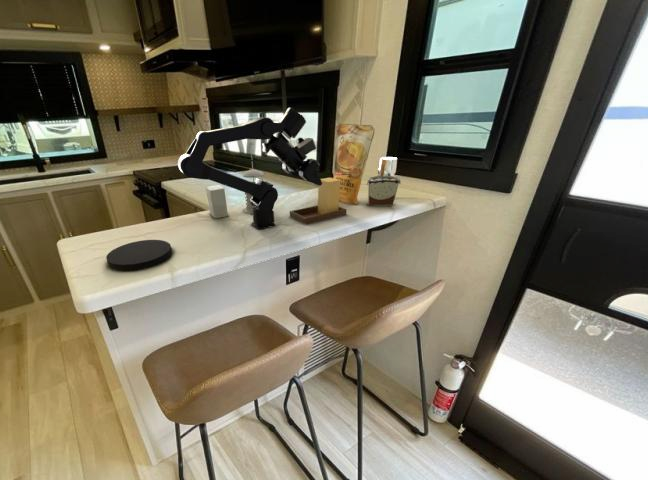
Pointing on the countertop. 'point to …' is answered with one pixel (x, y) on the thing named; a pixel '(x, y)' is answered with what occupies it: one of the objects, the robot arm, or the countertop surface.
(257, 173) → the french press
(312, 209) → the tray
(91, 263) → the countertop surface
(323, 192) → the box
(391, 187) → the food container
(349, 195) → the pancake mix bag
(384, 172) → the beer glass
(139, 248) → the wireless charger
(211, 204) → the small box
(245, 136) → the robot arm
